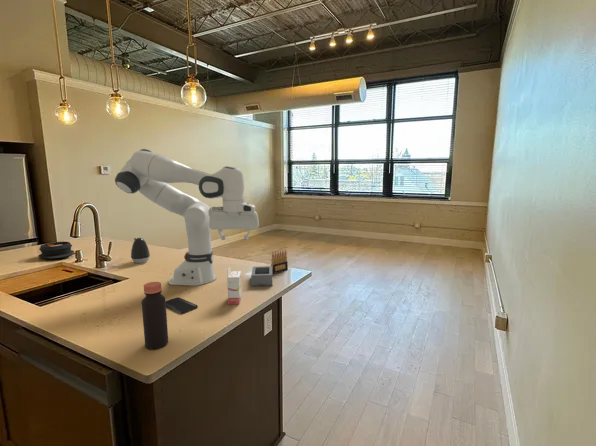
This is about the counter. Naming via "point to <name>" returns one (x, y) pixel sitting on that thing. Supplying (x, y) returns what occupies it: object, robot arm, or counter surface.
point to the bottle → (154, 316)
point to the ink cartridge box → (234, 286)
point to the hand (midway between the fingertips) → (234, 239)
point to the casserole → (56, 250)
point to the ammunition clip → (279, 262)
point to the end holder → (261, 276)
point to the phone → (180, 305)
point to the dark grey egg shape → (139, 251)
